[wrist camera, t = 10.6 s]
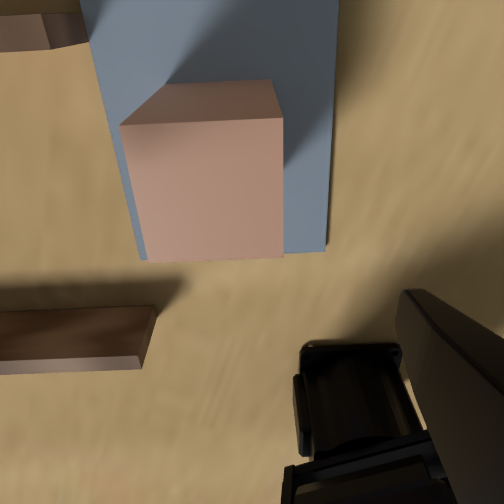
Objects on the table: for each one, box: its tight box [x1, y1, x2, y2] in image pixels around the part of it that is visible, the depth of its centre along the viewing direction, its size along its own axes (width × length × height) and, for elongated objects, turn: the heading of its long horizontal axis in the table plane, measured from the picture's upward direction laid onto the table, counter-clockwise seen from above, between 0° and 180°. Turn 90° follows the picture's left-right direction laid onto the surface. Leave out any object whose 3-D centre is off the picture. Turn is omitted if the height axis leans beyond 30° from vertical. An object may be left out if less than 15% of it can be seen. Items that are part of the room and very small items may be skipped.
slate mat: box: [79, 0, 339, 260], centre depth 18 cm, size 10×13×1 cm
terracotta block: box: [119, 79, 283, 263], centre depth 15 cm, size 4×4×7 cm
